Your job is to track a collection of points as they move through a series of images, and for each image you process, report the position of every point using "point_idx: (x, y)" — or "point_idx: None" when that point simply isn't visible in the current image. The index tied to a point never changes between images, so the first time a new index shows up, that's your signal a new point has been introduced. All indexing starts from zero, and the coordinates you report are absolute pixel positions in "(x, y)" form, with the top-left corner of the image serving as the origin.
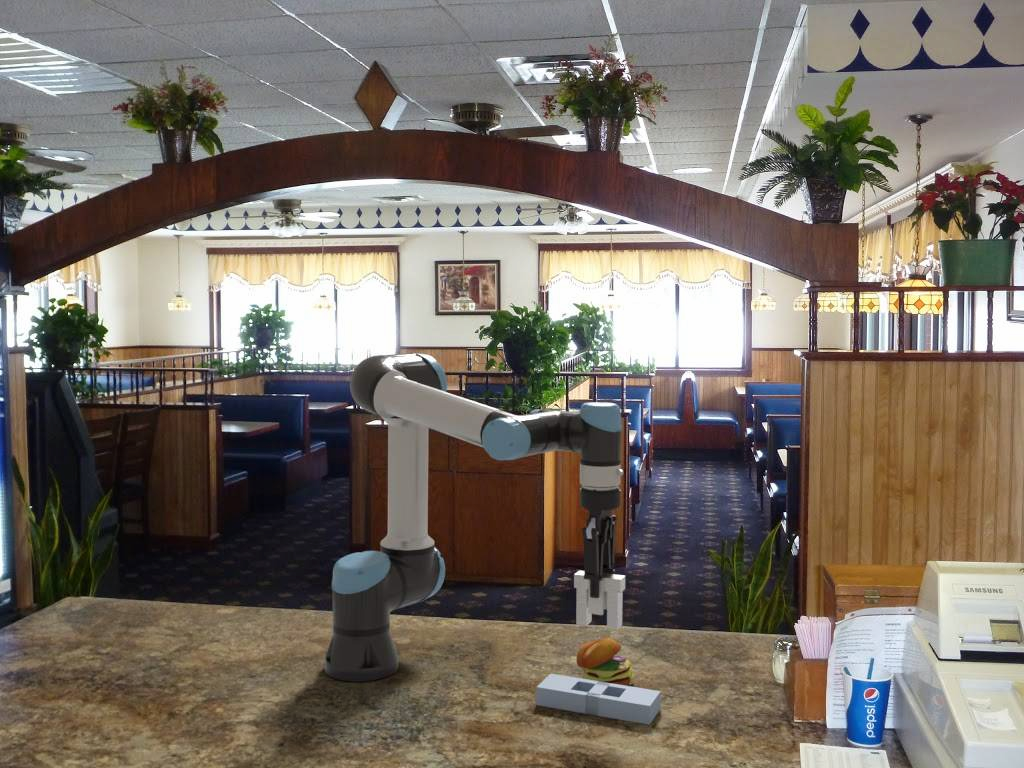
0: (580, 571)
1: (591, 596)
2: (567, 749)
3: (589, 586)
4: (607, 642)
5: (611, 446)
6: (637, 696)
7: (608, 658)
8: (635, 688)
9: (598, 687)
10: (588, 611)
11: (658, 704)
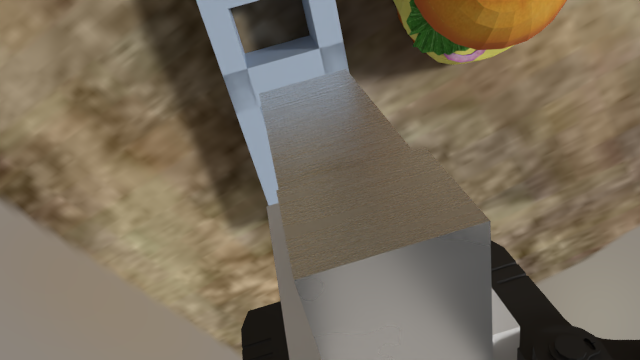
0: (451, 254)
1: (247, 326)
2: (12, 150)
3: (288, 341)
4: (501, 18)
5: None
6: None
7: (443, 35)
8: None
9: (300, 71)
10: (267, 213)
11: None
